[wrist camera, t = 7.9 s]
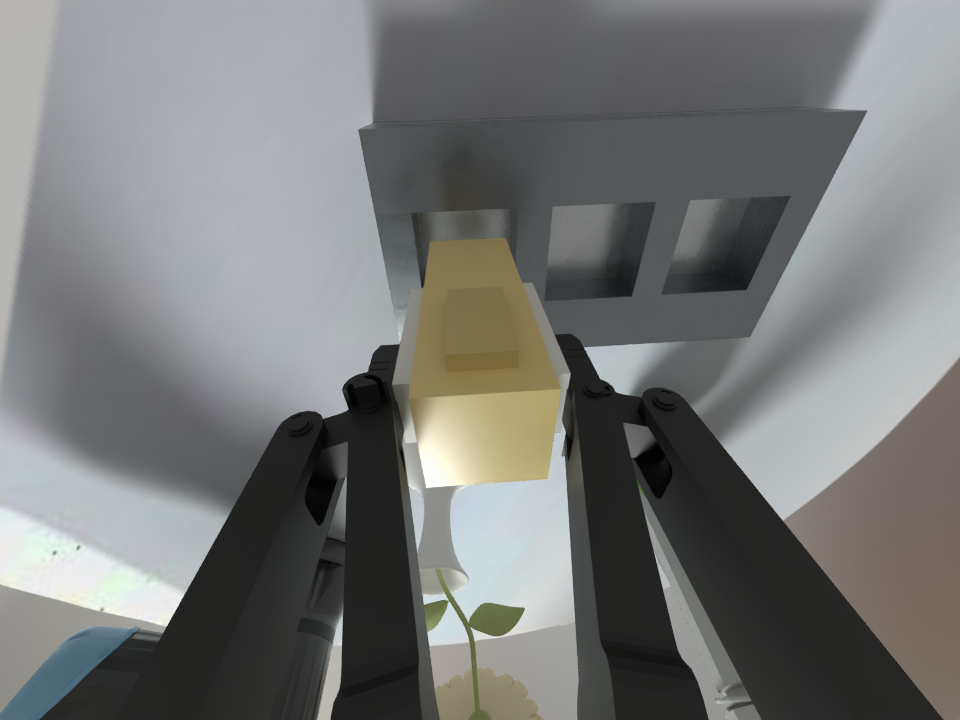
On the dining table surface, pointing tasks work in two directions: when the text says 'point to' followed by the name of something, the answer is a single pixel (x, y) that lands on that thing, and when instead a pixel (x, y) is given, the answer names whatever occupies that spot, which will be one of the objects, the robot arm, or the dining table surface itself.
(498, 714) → the flower in vase
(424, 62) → the dining table surface
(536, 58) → the dining table surface
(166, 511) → the dining table surface
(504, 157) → the jack panel
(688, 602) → the water bottle
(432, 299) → the yellow tall block
